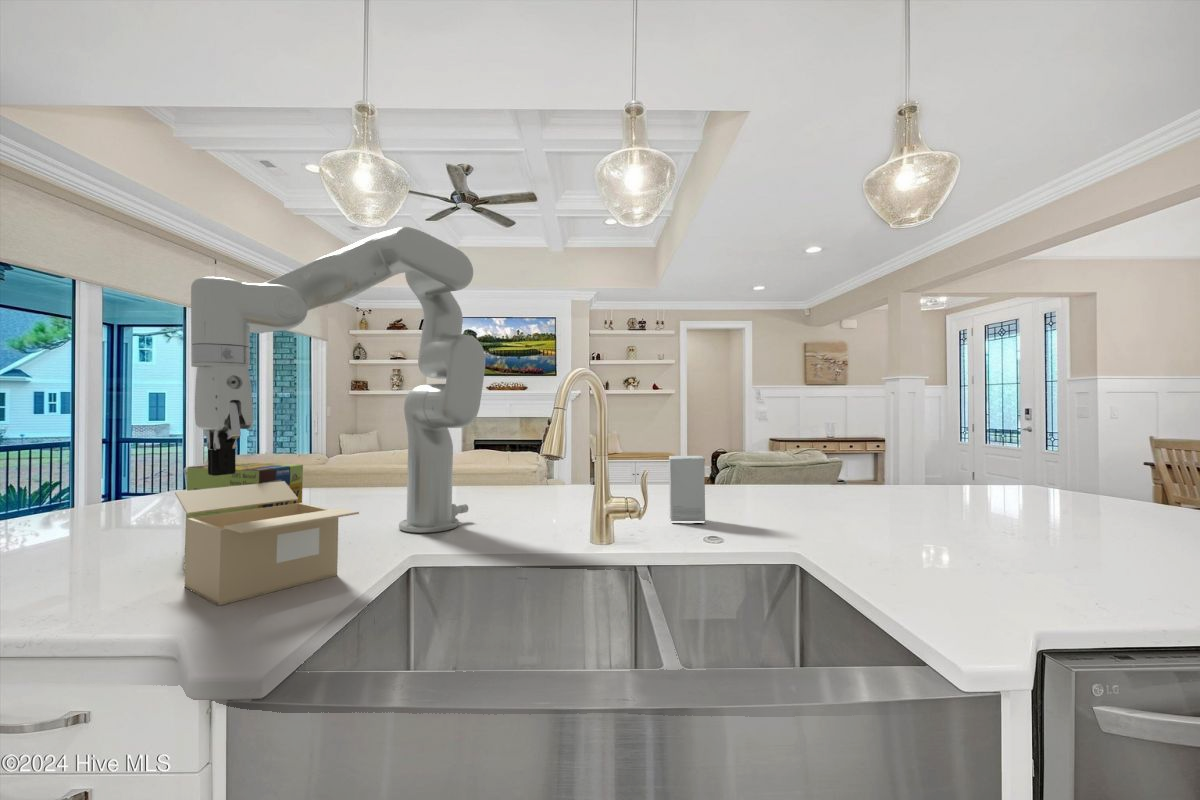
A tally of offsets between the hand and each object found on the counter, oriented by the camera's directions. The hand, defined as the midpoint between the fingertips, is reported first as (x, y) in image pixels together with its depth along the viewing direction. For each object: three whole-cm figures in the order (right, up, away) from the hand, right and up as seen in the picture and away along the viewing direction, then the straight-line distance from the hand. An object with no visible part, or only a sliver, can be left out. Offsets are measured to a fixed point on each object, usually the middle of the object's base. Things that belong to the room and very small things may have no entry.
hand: (221, 474), depth 83 cm
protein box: (-5, -16, +13) cm, 22 cm away
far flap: (+2, -4, +1) cm, 4 cm away
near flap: (+17, -5, -9) cm, 19 cm away
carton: (+9, -16, -4) cm, 18 cm away
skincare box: (+80, -18, +43) cm, 93 cm away
